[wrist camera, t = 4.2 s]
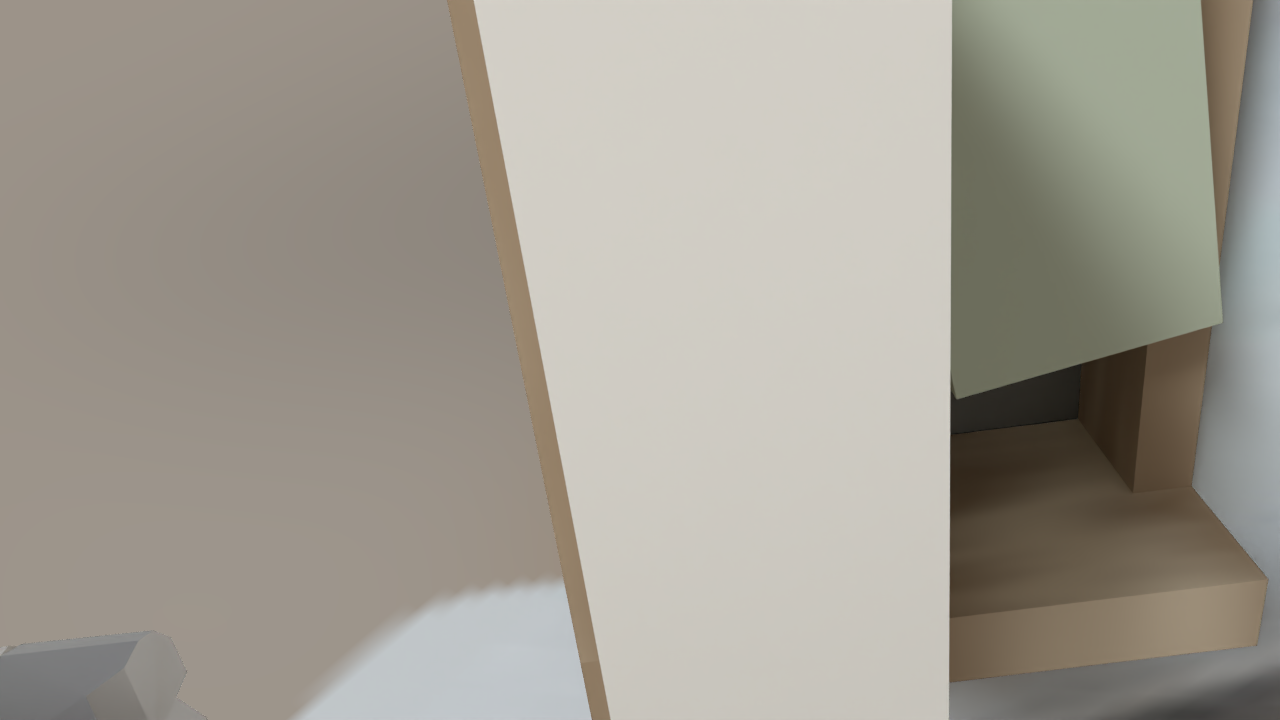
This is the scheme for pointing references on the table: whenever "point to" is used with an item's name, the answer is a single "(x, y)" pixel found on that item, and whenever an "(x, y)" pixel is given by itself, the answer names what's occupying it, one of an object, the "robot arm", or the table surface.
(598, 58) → the off-white rectangular board
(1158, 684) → the table surface
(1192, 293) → the offcut top
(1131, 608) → the rack
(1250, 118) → the table surface
